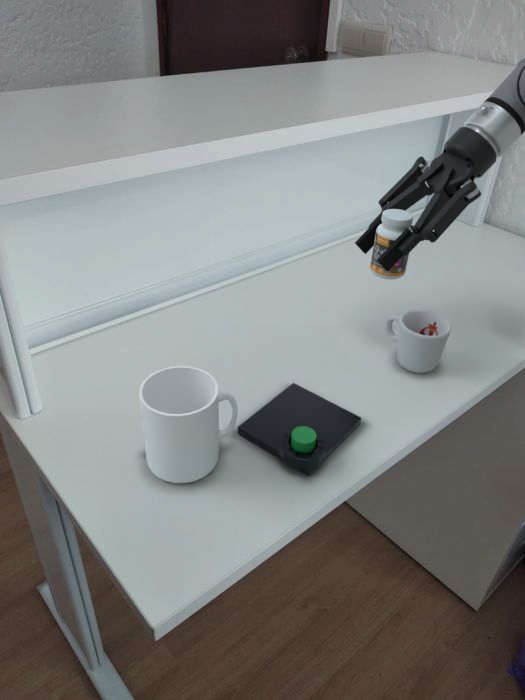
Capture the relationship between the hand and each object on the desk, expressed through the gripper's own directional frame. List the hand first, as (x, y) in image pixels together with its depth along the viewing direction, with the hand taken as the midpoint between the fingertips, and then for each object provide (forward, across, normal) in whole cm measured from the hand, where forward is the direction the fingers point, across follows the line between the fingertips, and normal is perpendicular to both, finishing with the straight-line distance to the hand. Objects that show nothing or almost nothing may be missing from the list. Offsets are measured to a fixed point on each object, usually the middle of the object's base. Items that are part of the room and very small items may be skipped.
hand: (371, 256), depth 91 cm
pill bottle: (0, 0, +5) cm, 5 cm away
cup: (+8, +8, +15) cm, 19 cm away
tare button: (+25, +22, -6) cm, 33 cm away
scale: (+25, +16, -2) cm, 30 cm away
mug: (+36, +16, -13) cm, 41 cm away
